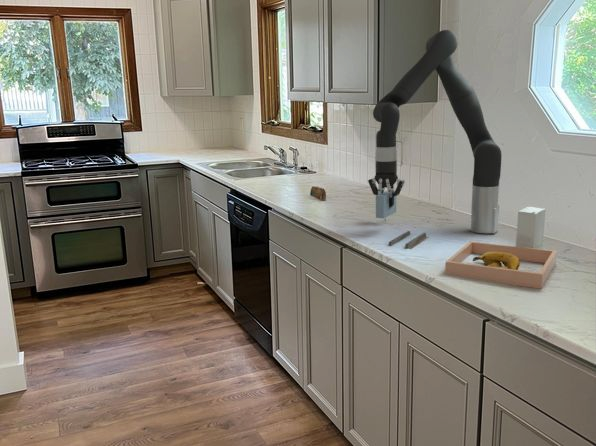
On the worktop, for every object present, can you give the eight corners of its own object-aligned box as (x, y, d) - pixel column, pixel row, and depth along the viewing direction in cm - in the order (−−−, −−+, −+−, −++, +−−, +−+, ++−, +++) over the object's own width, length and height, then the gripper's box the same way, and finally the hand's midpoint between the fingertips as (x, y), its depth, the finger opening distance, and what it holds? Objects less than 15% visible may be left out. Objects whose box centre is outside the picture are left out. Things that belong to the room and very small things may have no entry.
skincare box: (524, 250, 189) (527, 205, 185) (543, 253, 185) (546, 208, 181) (514, 255, 183) (516, 210, 179) (533, 258, 179) (536, 212, 175)
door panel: (396, 212, 212) (396, 190, 211) (383, 218, 202) (383, 196, 201) (388, 211, 214) (388, 190, 212) (375, 217, 204) (375, 195, 202)
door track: (428, 239, 205) (429, 233, 204) (411, 252, 190) (411, 244, 189) (405, 237, 209) (405, 230, 209) (385, 248, 194) (385, 241, 194)
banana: (493, 261, 178) (494, 243, 177) (536, 278, 160) (537, 259, 159) (450, 267, 173) (451, 249, 172) (490, 286, 156) (491, 265, 154)
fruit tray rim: (555, 263, 173) (556, 250, 172) (541, 288, 152) (542, 274, 151) (469, 253, 187) (470, 241, 186) (445, 275, 165) (445, 261, 164)
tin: (309, 201, 284) (309, 185, 282) (315, 201, 285) (315, 184, 283) (321, 207, 270) (320, 189, 268) (327, 206, 271) (326, 189, 269)
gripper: (408, 158, 203) (408, 206, 207) (372, 157, 210) (372, 203, 214) (400, 161, 197) (400, 210, 201) (363, 160, 204) (364, 207, 208)
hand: (386, 206), depth 207 cm, fingers closed on door panel, 3 cm apart
